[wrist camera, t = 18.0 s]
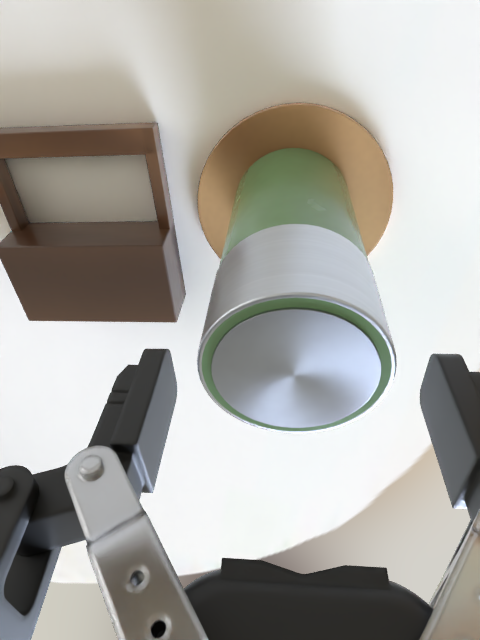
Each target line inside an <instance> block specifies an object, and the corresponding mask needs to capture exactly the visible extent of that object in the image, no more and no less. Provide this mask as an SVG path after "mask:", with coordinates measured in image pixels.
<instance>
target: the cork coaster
mask: <svg viewBox="0 0 480 640" xmlns="http://www.w3.org/2000/svg"><path fill="white" fill-rule="evenodd" d="M286 148H302V149H308V150H311V151H315V152H317V153H319V154H321V155H323V156H325V157H326V158H328V159H329V160H330V161H332V162H333V163H334V164H335V165H336V166H337V168H338V169H339V170H340V171H341V173H342V175H343V176H344V179H345V181H346V183H347V187H348V190H349V194H350V198H351V201H352V205H353V208H354V212H355V216H356V219H357V223H358V226H359V230H360V233H361V237H362V241H363V244H364V248H365V251H366V255H367V256H368V255H369V254H370V253H371V251H372V250H373V249H374V248H375V246H376V245H377V243H378V242H379V240H380V239H381V237H382V235H383V233H384V231H385V229H386V226H387V224H388V221H389V218H390V214H391V210H392V203H393V183H392V176H391V172H390V168H389V165H388V162H387V160H386V158H385V156H384V153H383V151H382V149H381V148H380V146H379V145H378V143H377V142H376V140H375V139H374V137H373V136H372V135H371V134H370V133H369V132H368V131H367V130H366V129H365V128H364V127H363V126H362V125H360V124H359V123H358V122H357V121H355V120H354V119H352V118H351V117H349V116H347V115H345V114H344V113H342V112H340V111H337V110H334V109H332V108H329V107H325V106H321V105H317V104H308V103H291V104H282V105H277V106H273V107H269V108H266V109H264V110H261V111H258V112H256V113H254V114H252V115H250V116H248V117H246V118H245V119H243V120H242V121H240V122H239V123H238V124H236V125H235V126H233V127H232V128H231V129H230V130H229V131H228V132H227V133H226V134H225V135H224V136H223V137H222V138H221V139H220V141H219V142H218V143H217V144H216V146H215V147H214V149H213V150H212V152H211V154H210V155H209V157H208V159H207V162H206V164H205V166H204V169H203V171H202V175H201V178H200V182H199V188H198V213H199V219H200V223H201V226H202V229H203V232H204V234H205V236H206V239H207V241H208V242H209V244H210V246H211V247H212V249H213V250H214V252H215V253H216V254H217V255H218V257H219V258H220V259H221V257H222V253H223V248H224V244H225V240H226V235H227V231H228V226H229V222H230V218H231V213H232V209H233V205H234V200H235V196H236V192H237V188H238V185H239V183H240V181H241V179H242V177H243V175H244V174H245V172H246V171H247V170H248V169H249V167H250V166H251V165H252V164H254V163H255V162H256V161H257V160H259V159H260V158H261V157H263V156H265V155H267V154H269V153H271V152H274V151H276V150H281V149H286Z"/></svg>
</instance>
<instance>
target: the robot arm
mask: <svg viewBox="0 0 480 640" xmlns="http://www.w3.org/2000/svg"><path fill="white" fill-rule="evenodd" d="M176 397H177V382H176V377H175V372H174V367H173V363H172V358H171V353H170V351H169V349H145V350H144V351H143V354H142V356H141V359H140V362H139V364H138V365H128V366H127V367H126V368H125V369H124V370H123V371H122V372H121V373H120V374H119V375H118V376H117V378H116V381H115V383H114V385H113V388H112V392H111V393H110V395H109V398H108V400H107V404H106V405H105V407H104V410H103V412H102V414H101V417H100V419H99V422H98V424H97V427H96V429H95V431H94V434H93V436H92V439H91V441H90V443H89V445H88V447H87V448H86V449H84V450H82V451H80V452H79V453H77V454H76V455H75V456H74V457H73V458H72V459H71V460H70V462H69V463H68V465H65V466H63V467H60V468H56V469H53V470H49V471H45V472H41V473H37V474H33V475H32V474H31V472H30V471H29V470H28V469H27V468H25V467H23V466H17V465H15V466H8V467H5V468H2V469H0V640H31V638H32V635H33V632H34V629H35V625H36V623H37V620H38V617H39V614H40V611H41V608H42V605H43V602H44V599H45V596H46V593H47V590H48V586H49V583H50V580H51V577H52V574H53V571H54V568H55V565H56V562H57V559H58V556H59V553H60V550H61V547H62V546H66V545H69V544H73V543H76V542H80V541H83V540H86V541H87V546H86V547H87V552H88V555H89V558H90V561H91V564H92V567H93V570H94V572H95V575H96V578H97V581H98V584H99V587H100V590H101V593H102V595H103V598H104V601H105V604H106V607H107V610H108V613H109V615H110V618H111V621H112V624H113V627H114V630H115V633H116V635H117V638H118V640H480V372H469V370H468V368H467V366H466V364H465V362H464V359H463V358H462V356H461V355H459V354H432V355H431V357H430V359H429V362H428V366H427V369H426V372H425V376H424V379H423V382H422V385H421V389H420V404H421V409H422V412H423V415H424V419H425V422H426V425H427V428H428V431H429V434H430V438H431V441H432V444H433V447H434V450H435V453H436V457H437V459H438V463H439V466H440V469H441V472H442V475H443V479H444V482H445V485H446V488H447V491H448V495H449V498H450V501H451V504H452V507H453V508H459V509H468V512H469V515H470V518H471V520H470V522H469V524H468V526H467V528H466V530H465V532H464V534H463V536H462V538H461V540H460V543H459V544H458V547H457V549H456V551H455V553H454V555H453V557H452V559H451V561H450V563H449V565H448V567H447V569H446V571H445V573H444V575H443V577H442V579H441V581H440V583H439V585H438V587H437V589H436V591H435V593H434V595H433V596H432V598H431V600H430V602H429V604H427V603H426V602H425V601H424V600H422V599H421V598H420V597H419V596H417V595H416V594H415V593H413V592H411V591H410V590H408V589H407V588H405V587H403V586H401V585H399V584H397V583H394V582H392V581H389V579H388V574H387V568H380V567H363V566H347V565H345V566H340V567H336V568H332V569H327V570H323V571H318V572H314V573H309V574H300V573H296V572H293V571H291V570H288V569H285V568H282V567H279V566H276V565H273V564H271V563H268V562H265V561H262V560H247V559H231V558H222V565H221V570H217V571H213V572H210V573H208V574H205V575H203V576H201V577H200V578H198V579H196V580H194V581H193V582H192V583H190V584H189V585H188V586H187V587H185V588H184V589H183V587H182V585H181V583H180V581H179V579H178V576H177V574H176V572H175V570H174V568H173V566H172V564H171V562H170V560H169V558H168V556H167V554H166V552H165V550H164V548H163V546H162V544H161V542H160V540H159V538H158V535H157V533H156V531H155V529H154V527H153V525H152V523H151V521H150V519H149V517H148V515H147V513H146V512H145V511H144V510H143V508H142V506H141V504H140V502H139V499H140V496H141V492H144V493H153V490H154V486H155V482H156V478H157V474H158V470H159V466H160V462H161V458H162V454H163V450H164V446H165V442H166V438H167V434H168V430H169V426H170V422H171V418H172V414H173V410H174V407H175V403H176Z"/></svg>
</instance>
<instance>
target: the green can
mask: <svg viewBox="0 0 480 640" xmlns="http://www.w3.org/2000/svg"><path fill="white" fill-rule="evenodd" d="M197 365H198V372H199V376H200V380H201V382H202V384H203V386H204V388H205V390H206V391H207V393H208V395H209V396H210V397H211V398H212V399H213V401H214V402H215V403H216V404H217V405H218V406H219V407H221V408H222V409H223V410H224V411H226V412H227V413H229V414H230V415H231V416H233V417H235V418H237V419H239V420H241V421H243V422H245V423H247V424H250V425H253V426H256V427H259V428H262V429H266V430H271V431H277V432H286V433H309V432H318V431H324V430H328V429H332V428H336V427H339V426H342V425H345V424H347V423H350V422H352V421H354V420H356V419H358V418H359V417H361V416H363V415H364V414H366V413H367V412H369V411H370V410H371V409H373V408H374V407H375V406H376V405H377V404H378V403H379V402H380V401H381V400H382V399H383V397H384V396H385V395H386V393H387V392H388V390H389V388H390V386H391V384H392V382H393V379H394V376H395V371H396V353H395V349H394V345H393V341H392V338H391V334H390V331H389V327H388V324H387V320H386V317H385V313H384V310H383V306H382V303H381V299H380V295H379V292H378V288H377V285H376V281H375V278H374V274H373V271H372V269H371V266H370V264H369V262H368V259H367V255H366V251H365V248H364V244H363V241H362V237H361V233H360V230H359V226H358V223H357V219H356V216H355V212H354V208H353V205H352V201H351V198H350V194H349V190H348V187H347V183H346V181H345V179H344V176H343V175H342V173H341V171H340V170H339V169H338V168H337V166H336V165H335V164H334V163H333V162H332V161H330V160H329V159H328V158H326V157H325V156H323V155H321V154H319V153H317V152H315V151H311V150H308V149H302V148H286V149H281V150H276V151H274V152H271V153H269V154H267V155H265V156H263V157H261V158H260V159H259V160H257V161H256V162H255V163H254V164H252V165H251V166H250V167H249V169H248V170H247V171H246V172H245V174H244V175H243V177H242V179H241V181H240V183H239V185H238V188H237V192H236V196H235V200H234V205H233V209H232V213H231V218H230V222H229V226H228V231H227V235H226V240H225V244H224V248H223V253H222V257H221V261H220V266H219V269H218V271H217V274H216V278H215V282H214V286H213V290H212V294H211V299H210V303H209V307H208V312H207V316H206V320H205V325H204V329H203V333H202V337H201V342H200V346H199V350H198V358H197Z"/></svg>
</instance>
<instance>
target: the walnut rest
mask: <svg viewBox="0 0 480 640" xmlns="http://www.w3.org/2000/svg"><path fill="white" fill-rule="evenodd" d="M142 154H145V156H146V161H147V166H148V171H149V177H150V182H151V187H152V193H153V198H154V203H155V209H156V214H157V219H158V221H154V222H78V223H29V221H28V219H27V216H26V213H25V211H24V208H23V206H22V203H21V201H20V198H19V196H18V193H17V190H16V188H15V185H14V183H13V180H12V178H11V175H10V173H9V170H8V168H7V165H6V162H5V160H4V159H5V158H39V157H73V156H108V155H142ZM0 204H1V207H2V209H3V211H4V214H5V216H6V218H7V221H8V223H9V226H10V228H11V230H12V231H11V232H10V233H9V234H8V235H7V236H6V237H5V238H4V239H3V240H2V241H1V242H0V259H1V261H2V263H3V265H4V268H5V270H6V272H7V274H8V276H9V278H10V281H11V283H12V285H13V287H14V289H15V291H16V294H17V296H18V298H19V300H20V302H21V304H22V307H23V309H24V311H25V313H26V315H27V317H28V319H29V321H102V322H177V320H178V317H179V313H180V310H181V307H182V304H183V301H184V298H185V295H186V293H185V287H184V281H183V275H182V269H181V263H180V257H179V250H178V244H177V238H176V232H175V226H174V220H173V214H172V208H171V202H170V196H169V189H168V183H167V177H166V171H165V165H164V159H163V153H162V147H161V141H160V135H159V128H158V123H157V122H152V123H127V124H100V125H73V126H46V127H19V128H0Z"/></svg>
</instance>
